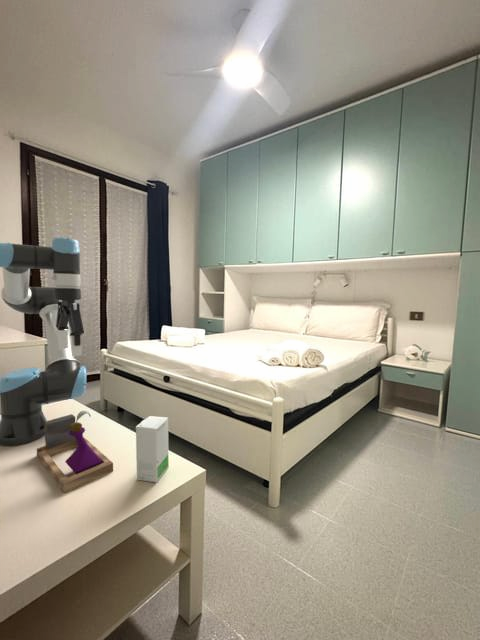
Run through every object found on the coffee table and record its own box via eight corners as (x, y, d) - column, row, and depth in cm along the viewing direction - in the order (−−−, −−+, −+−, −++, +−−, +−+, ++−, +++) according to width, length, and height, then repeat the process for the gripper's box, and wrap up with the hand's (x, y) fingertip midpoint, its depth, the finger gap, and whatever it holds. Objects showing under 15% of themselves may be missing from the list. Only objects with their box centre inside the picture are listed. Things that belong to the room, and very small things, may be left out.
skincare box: (156, 483, 82) (156, 429, 80) (134, 480, 83) (133, 426, 82) (169, 466, 90) (169, 416, 88) (149, 463, 91) (149, 414, 90)
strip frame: (36, 456, 94) (35, 424, 92) (80, 441, 103) (79, 411, 102) (64, 492, 77) (62, 454, 76) (113, 471, 87) (112, 436, 86)
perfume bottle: (74, 483, 81) (72, 420, 79) (65, 471, 86) (62, 412, 84) (102, 471, 87) (101, 412, 85) (92, 461, 92) (90, 404, 90)
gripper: (44, 286, 102) (46, 347, 104) (66, 287, 85) (69, 360, 87) (68, 287, 107) (70, 345, 110) (94, 288, 90) (96, 357, 92)
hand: (69, 352), depth 98 cm, fingers open, 13 cm apart
